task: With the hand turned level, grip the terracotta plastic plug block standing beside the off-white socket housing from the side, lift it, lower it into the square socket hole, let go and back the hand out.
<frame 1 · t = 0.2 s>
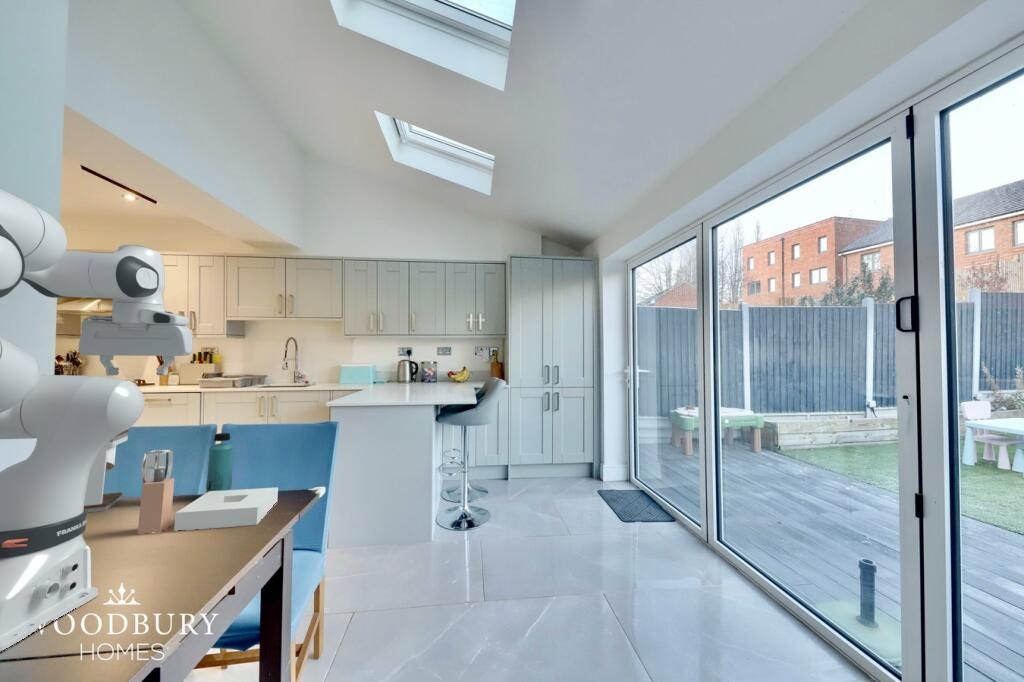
hand: (137, 375, 91), 39 cm above the table, tool pointing down, fingers open, 8 cm apart
beverage bottle: (217, 498, 122), on the table
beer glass: (154, 503, 117), on the table
plug: (154, 530, 97), on the table
socket: (230, 515, 107), on the table
display case: (88, 508, 111), on the table
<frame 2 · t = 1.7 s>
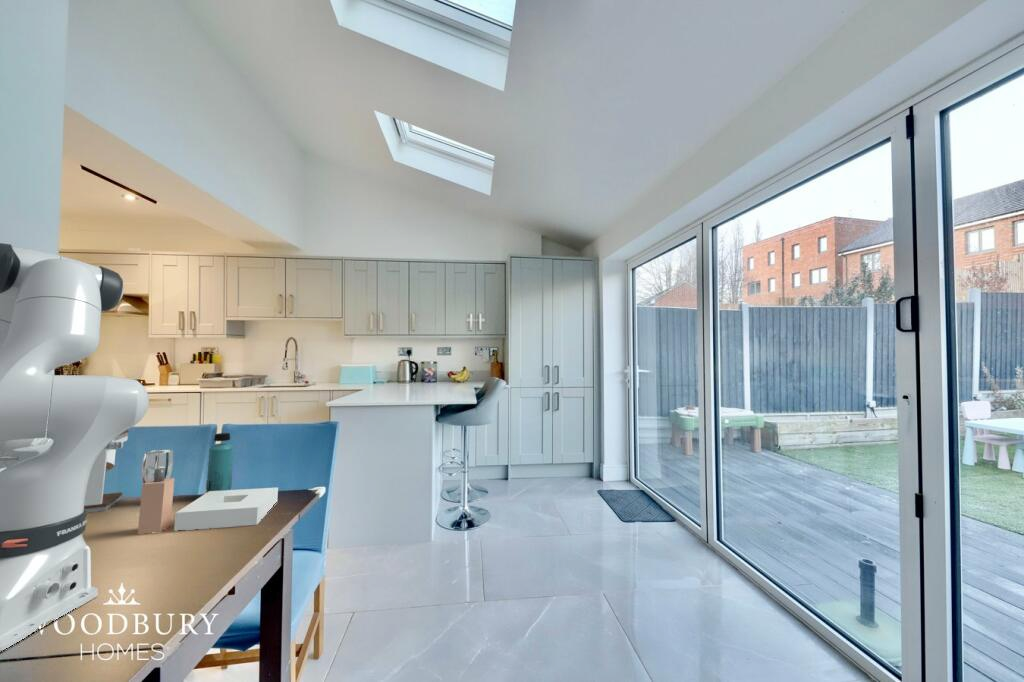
hand: (105, 449, 96), 20 cm above the table, tool horizontal, fingers open, 8 cm apart
nothing on the table moved.
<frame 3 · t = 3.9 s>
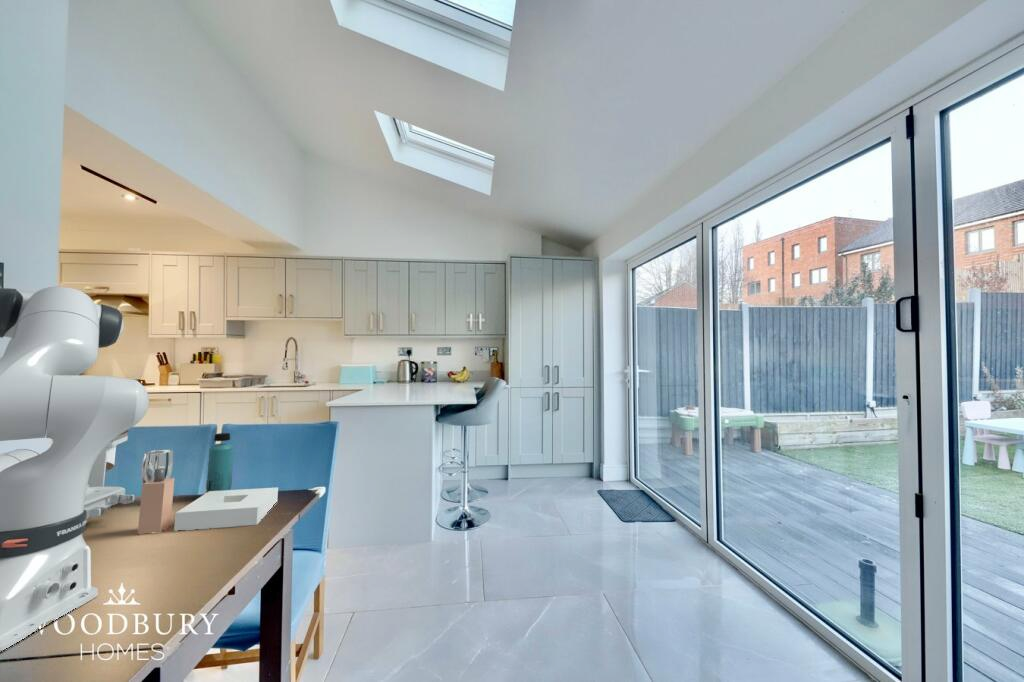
hand: (117, 505, 96), 7 cm above the table, tool horizontal, fingers open, 8 cm apart
nothing on the table moved.
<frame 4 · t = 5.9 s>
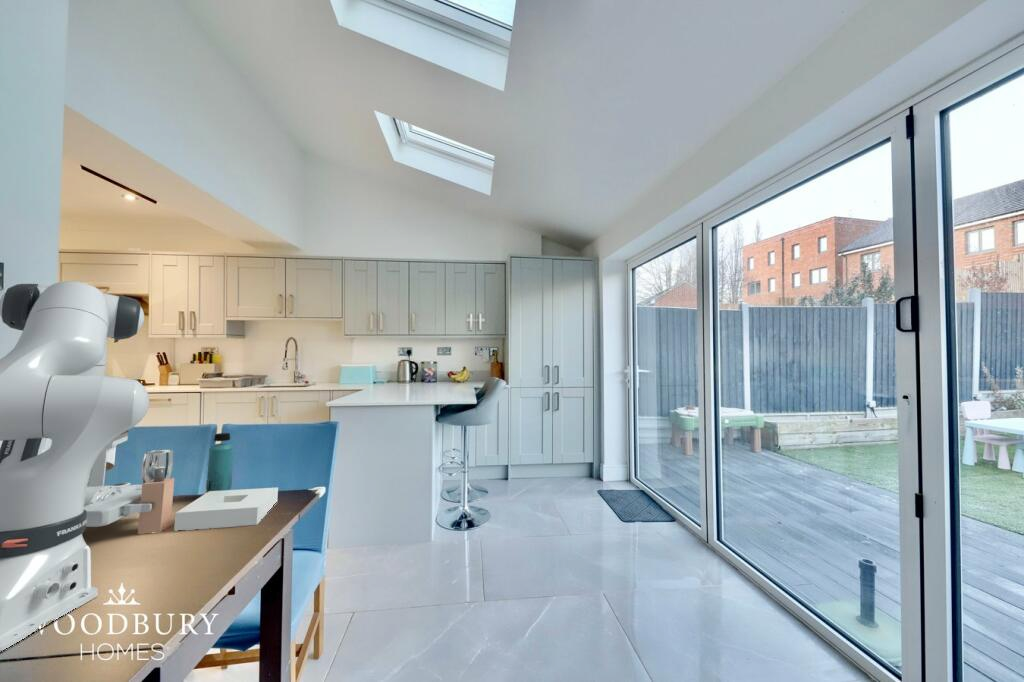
hand: (161, 502, 98), 7 cm above the table, tool horizontal, fingers closed on plug, 5 cm apart
plug: (154, 530, 97), on the table, touching gripper
everything else where it was.
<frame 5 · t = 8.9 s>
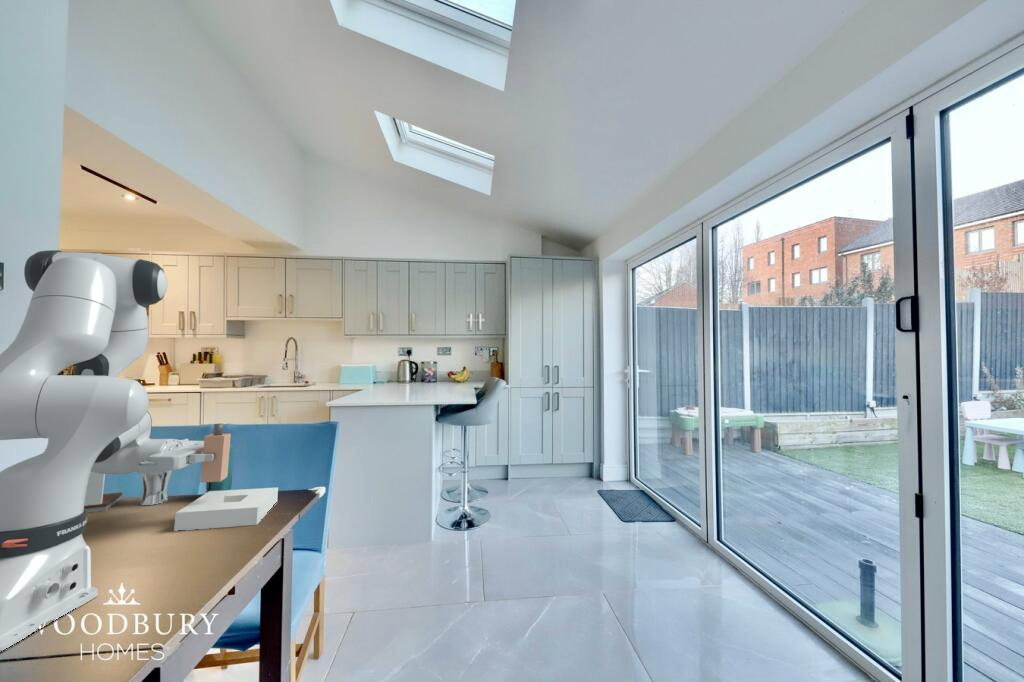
hand: (220, 454, 106), 17 cm above the table, tool horizontal, fingers closed on plug, 5 cm apart
plug: (214, 479, 106), point 10 cm above the table, touching gripper
everything else where it was.
when the fingers open (9 cm above the table, at t = 11.7 s): plug drops 2 cm, resting in socket.
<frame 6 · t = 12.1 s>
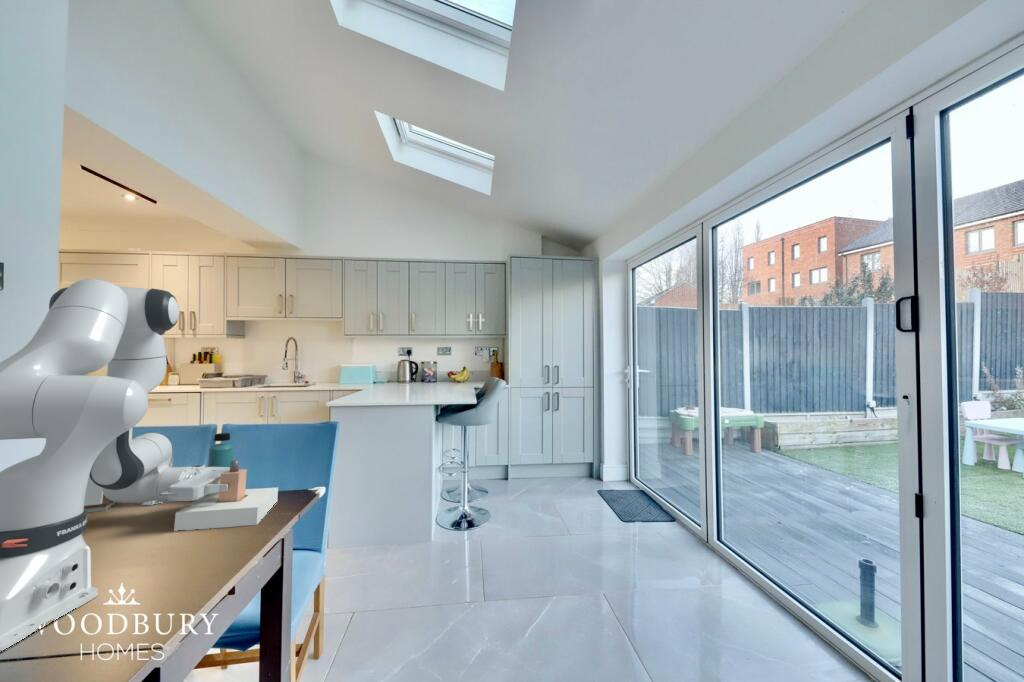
hand: (237, 482, 108), 9 cm above the table, tool horizontal, fingers open, 8 cm apart
plug: (230, 515, 107), resting in socket
everything else where it was.
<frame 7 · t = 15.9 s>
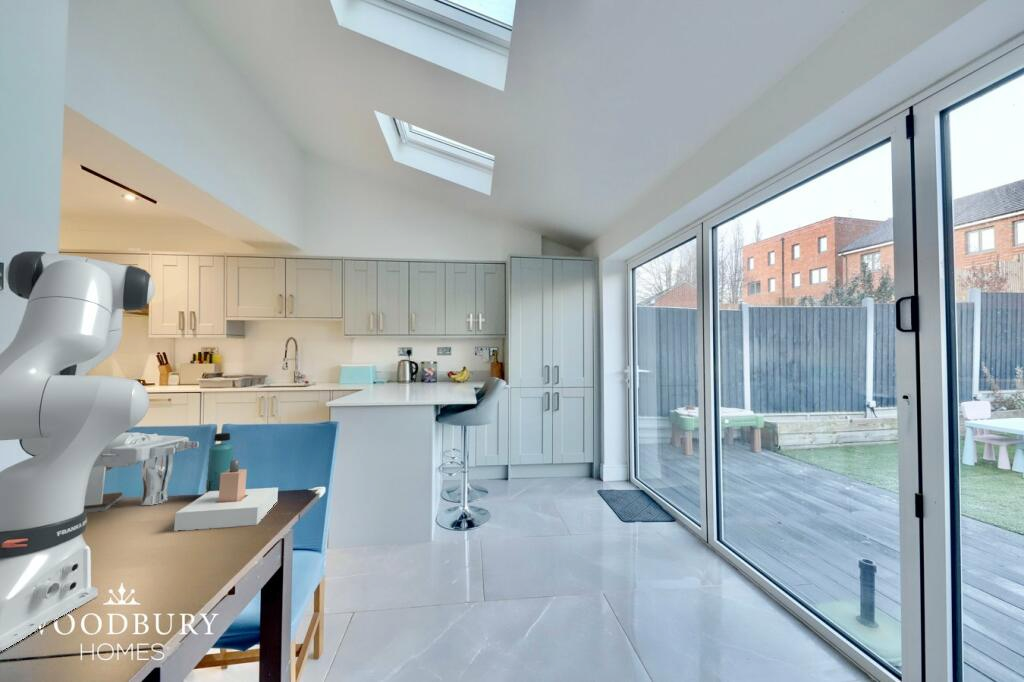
hand: (186, 447, 106), 19 cm above the table, tool horizontal, fingers open, 8 cm apart
nothing on the table moved.
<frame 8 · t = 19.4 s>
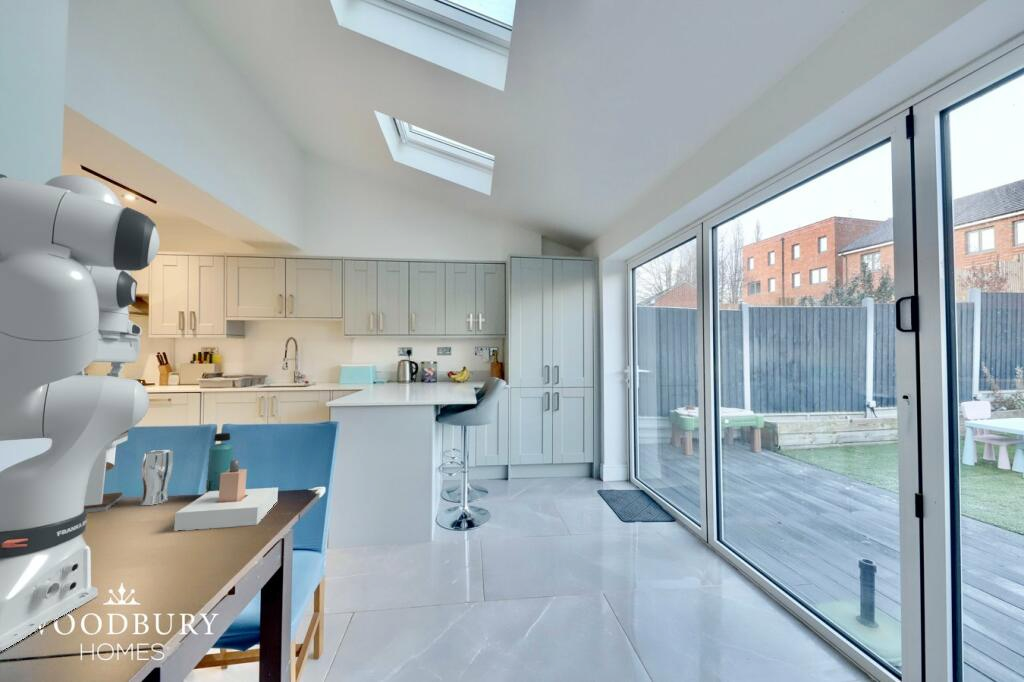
hand: (97, 380, 95), 37 cm above the table, tool pointing down, fingers open, 8 cm apart
nothing on the table moved.
at the end: plug 0.1 cm off-centre on the socket, point 0.0 cm above the socket's base; plug tilted 0°; the gripper is holding nothing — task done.
